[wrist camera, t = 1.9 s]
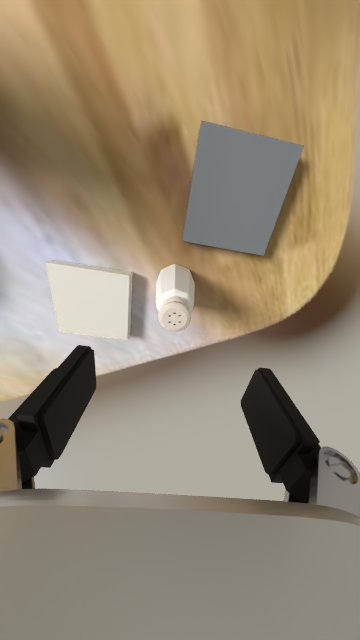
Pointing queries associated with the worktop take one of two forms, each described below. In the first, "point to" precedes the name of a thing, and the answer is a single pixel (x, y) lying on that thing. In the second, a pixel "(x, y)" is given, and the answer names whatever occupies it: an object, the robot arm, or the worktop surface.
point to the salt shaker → (175, 297)
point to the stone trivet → (91, 299)
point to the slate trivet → (237, 188)
